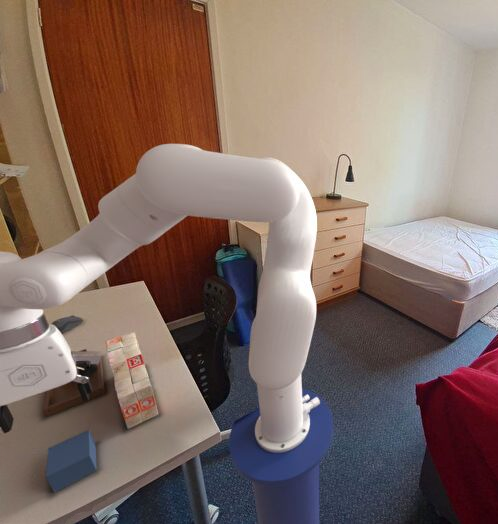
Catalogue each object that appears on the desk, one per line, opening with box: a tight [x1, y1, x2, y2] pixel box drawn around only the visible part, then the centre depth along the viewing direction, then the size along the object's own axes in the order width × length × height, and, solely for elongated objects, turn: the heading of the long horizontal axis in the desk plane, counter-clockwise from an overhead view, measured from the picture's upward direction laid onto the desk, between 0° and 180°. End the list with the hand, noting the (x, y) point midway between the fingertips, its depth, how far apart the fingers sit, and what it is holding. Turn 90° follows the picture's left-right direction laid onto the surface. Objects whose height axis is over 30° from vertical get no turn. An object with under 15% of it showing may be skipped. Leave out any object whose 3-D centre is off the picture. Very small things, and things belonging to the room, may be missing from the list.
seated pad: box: [67, 348, 90, 384], centre depth 77 cm, size 6×7×4 cm
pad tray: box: [43, 357, 106, 417], centre depth 75 cm, size 11×18×2 cm, turn 42°
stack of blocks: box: [105, 331, 159, 430], centre depth 70 cm, size 21×6×12 cm, turn 42°
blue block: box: [44, 429, 98, 493], centre depth 55 cm, size 6×7×4 cm
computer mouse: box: [51, 315, 84, 334], centre depth 96 cm, size 6×9×4 cm, turn 174°
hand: (50, 410), depth 50 cm, fingers open, 9 cm apart
